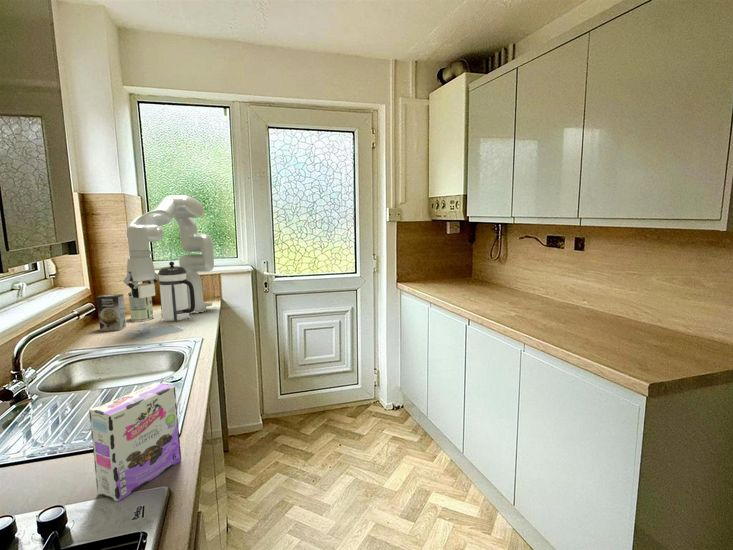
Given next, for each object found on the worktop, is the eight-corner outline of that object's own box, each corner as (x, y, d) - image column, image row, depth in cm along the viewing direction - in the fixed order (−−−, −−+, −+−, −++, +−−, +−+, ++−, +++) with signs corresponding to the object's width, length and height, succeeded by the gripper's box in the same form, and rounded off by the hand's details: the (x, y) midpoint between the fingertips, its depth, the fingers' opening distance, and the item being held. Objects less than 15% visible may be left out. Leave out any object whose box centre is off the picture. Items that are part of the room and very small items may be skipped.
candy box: (117, 503, 71) (107, 415, 68) (96, 494, 73) (86, 409, 71) (182, 460, 83) (176, 384, 81) (163, 454, 85) (156, 380, 83)
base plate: (170, 327, 188) (169, 324, 188) (185, 333, 178) (185, 330, 178) (125, 336, 174) (124, 333, 174) (138, 343, 164) (138, 340, 164)
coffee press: (156, 326, 190) (151, 263, 186) (162, 319, 205) (157, 260, 201) (196, 323, 195) (191, 262, 191) (199, 316, 210) (194, 259, 206)
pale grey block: (146, 331, 177) (145, 323, 176) (149, 331, 176) (148, 323, 175) (139, 333, 174) (138, 324, 173) (142, 333, 173) (141, 325, 172)
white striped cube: (145, 294, 177) (144, 282, 176) (155, 295, 174) (154, 283, 174) (131, 297, 171) (130, 285, 171) (141, 298, 169) (140, 285, 168)
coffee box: (99, 331, 184) (95, 296, 182) (106, 327, 190) (102, 294, 188) (121, 330, 185) (117, 295, 183) (126, 326, 191) (123, 293, 189)
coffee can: (130, 318, 208) (127, 291, 206) (153, 315, 213) (150, 289, 211) (130, 322, 199) (128, 294, 197) (154, 319, 204) (151, 292, 202)
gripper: (152, 252, 180) (156, 292, 182) (113, 256, 164) (118, 299, 167) (163, 253, 176) (167, 293, 179) (125, 256, 161) (129, 300, 164)
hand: (143, 295), depth 173 cm, fingers closed on white striped cube, 6 cm apart
